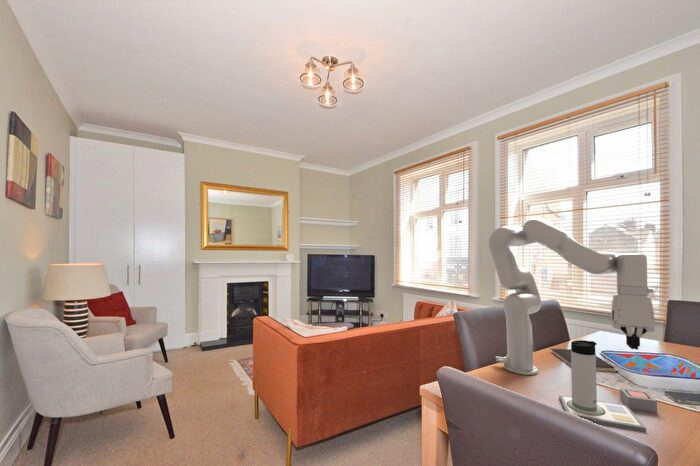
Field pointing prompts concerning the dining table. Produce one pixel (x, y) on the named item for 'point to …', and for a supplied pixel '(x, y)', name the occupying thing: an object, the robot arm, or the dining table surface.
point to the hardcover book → (566, 357)
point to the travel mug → (584, 375)
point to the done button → (637, 394)
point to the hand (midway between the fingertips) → (633, 348)
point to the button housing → (638, 401)
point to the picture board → (606, 414)
